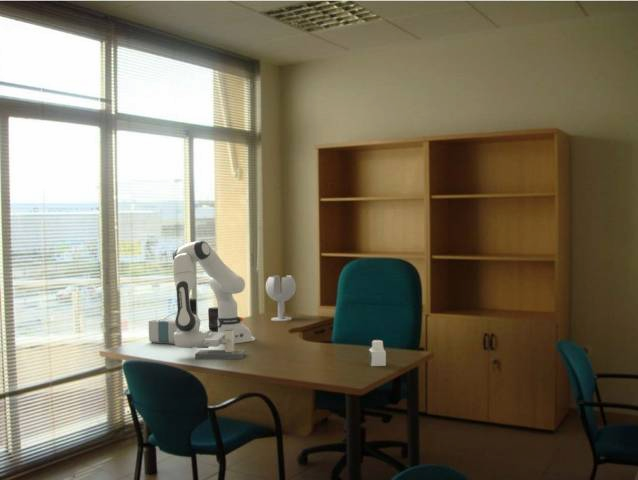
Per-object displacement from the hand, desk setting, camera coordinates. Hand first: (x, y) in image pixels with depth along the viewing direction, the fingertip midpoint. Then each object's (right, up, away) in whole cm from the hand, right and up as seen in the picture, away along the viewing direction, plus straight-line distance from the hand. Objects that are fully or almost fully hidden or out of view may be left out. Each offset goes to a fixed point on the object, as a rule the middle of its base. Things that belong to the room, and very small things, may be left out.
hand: (231, 339), depth 353 cm
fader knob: (-1, -6, 0) cm, 6 cm away
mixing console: (-6, -9, +1) cm, 11 cm away
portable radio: (-31, -7, +58) cm, 67 cm away
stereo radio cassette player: (-42, -8, +41) cm, 59 cm away
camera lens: (-20, -6, +75) cm, 78 cm away
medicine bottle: (+74, -9, -23) cm, 78 cm away
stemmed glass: (+20, -4, +118) cm, 119 cm away
